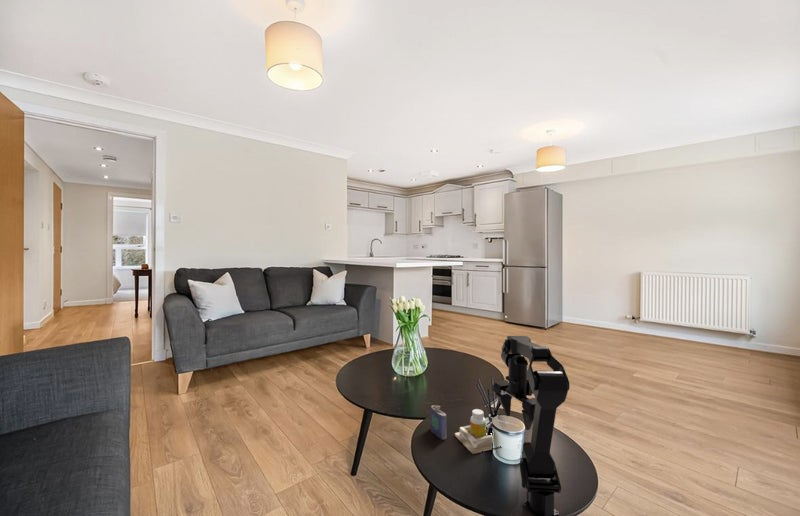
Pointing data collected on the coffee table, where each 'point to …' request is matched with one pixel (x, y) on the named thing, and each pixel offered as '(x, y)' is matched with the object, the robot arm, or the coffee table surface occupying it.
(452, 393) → the coffee table surface
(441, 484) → the coffee table surface
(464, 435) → the beige square open piece
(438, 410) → the flask
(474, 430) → the supplement bottle
